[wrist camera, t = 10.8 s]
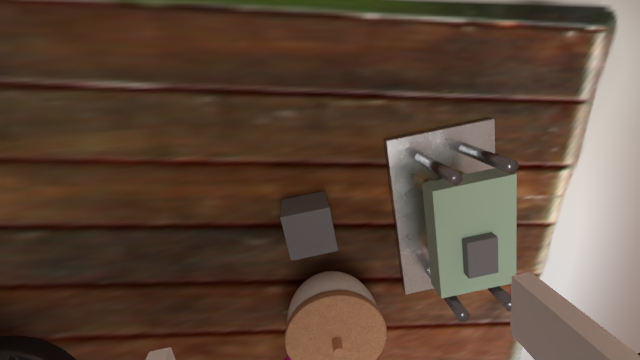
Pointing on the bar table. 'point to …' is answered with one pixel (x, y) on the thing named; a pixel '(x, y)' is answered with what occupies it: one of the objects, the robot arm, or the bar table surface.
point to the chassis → (429, 165)
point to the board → (471, 231)
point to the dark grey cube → (308, 225)
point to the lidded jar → (334, 320)
